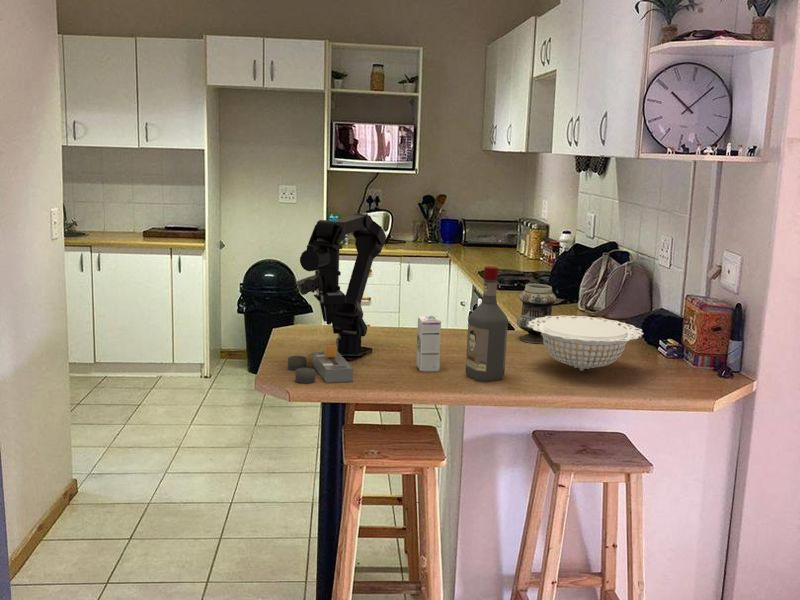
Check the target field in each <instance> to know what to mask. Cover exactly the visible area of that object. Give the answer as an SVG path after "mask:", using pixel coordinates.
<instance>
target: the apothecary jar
mask: <svg viewBox="0 0 800 600" xmlns="http://www.w3.org/2000/svg"><path fill="white" fill-rule="evenodd" d="M524 287H525V288H524V290H523V291H521V292H520V293H519V300H520V301H521V302H522V306H521V315H519V316H518V317H517V319H516V325H517V327H518V328H519V329H521V330H523V331H524V332H526V333H527V334H526V333H525V334H523V335H521V336H519V338H518V340H520V341H522V342H525V343H528V344H544V342H543V336H542V334H541V332H538V331H535V330H533V328H530V327H528V325H529V323H528V322H529V321H532V320H535V319H536V318H541V317H545V316H552V311H553V310H552V307H553V305H554V304H555V303H556V302H557V296H556V295H555V293H554V292H553V287H552V286H551V285H547V284H541V283H526V284H525V286H524ZM549 318H552V317H549ZM537 322H538V321H537ZM532 323H533V322H532ZM539 323H540V322H539ZM543 323H544V322H543ZM538 326H539V325H538ZM532 327H533V326H532ZM545 342H546V341H545ZM547 343H548V341H547Z"/></svg>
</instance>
